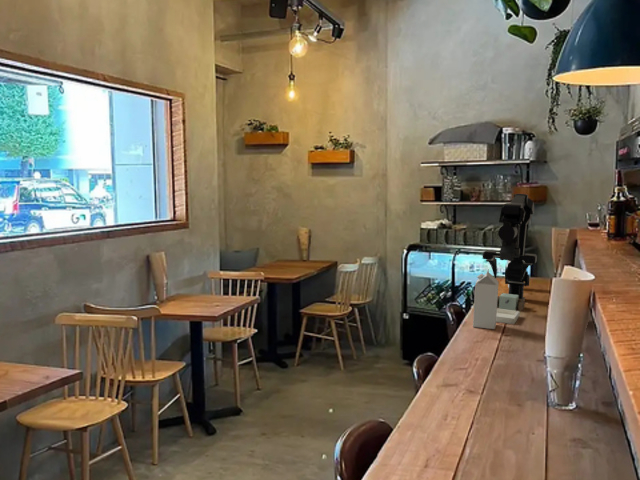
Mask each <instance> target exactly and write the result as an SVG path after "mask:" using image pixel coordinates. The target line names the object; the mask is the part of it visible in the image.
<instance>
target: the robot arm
mask: <svg viewBox="0 0 640 480" xmlns="http://www.w3.org/2000/svg"><path fill="white" fill-rule="evenodd" d="M534 204H535V203H534V201H533V200H532V199H531V198H529V195H528V194H527V193H516V194H514V195H513V198H512V200H511V201H510V202H506V203H504V205H503V206H501V209H500V215H499V219H498V222H499V223H500V224H503V225H502V226H501V227H500V228H499V229H498V233H497V234H498V237H499V239H500V240H501V241H502V243H501V247H500V250H499V252H497V251H496V250H493V249H492V250H490V249H486V250H485V251H483V252H482V259H483V260H485V261H486V262H488V264H490V268H491V269H492V270H491V271H492V274H493V277H494V278H495V279H497V276H498V269H497V266H498V264H497V263H498V261H497V260H498V259H499V260H501V261H508V260H509V261H511V262H510V263H509V264H508V263H507V266H506V269H505V272H504V285H508V284H509V288H508V294H514V295H519V296H518V299H526V297H525V296H524V290H525V289H524V288H525V287H529V286H530V274H529V271H527V269H528V267H529V266H531V267H532V265H534V264H536V263H537V261H538V255H537V254H536V253H525V249H526V239H527V238H526V237H527V227H528V226H527V225H528V224H529V223H530V221H531V220H532V218H533V215H534V213H535V205H534ZM523 260H524V261H523Z"/></svg>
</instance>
